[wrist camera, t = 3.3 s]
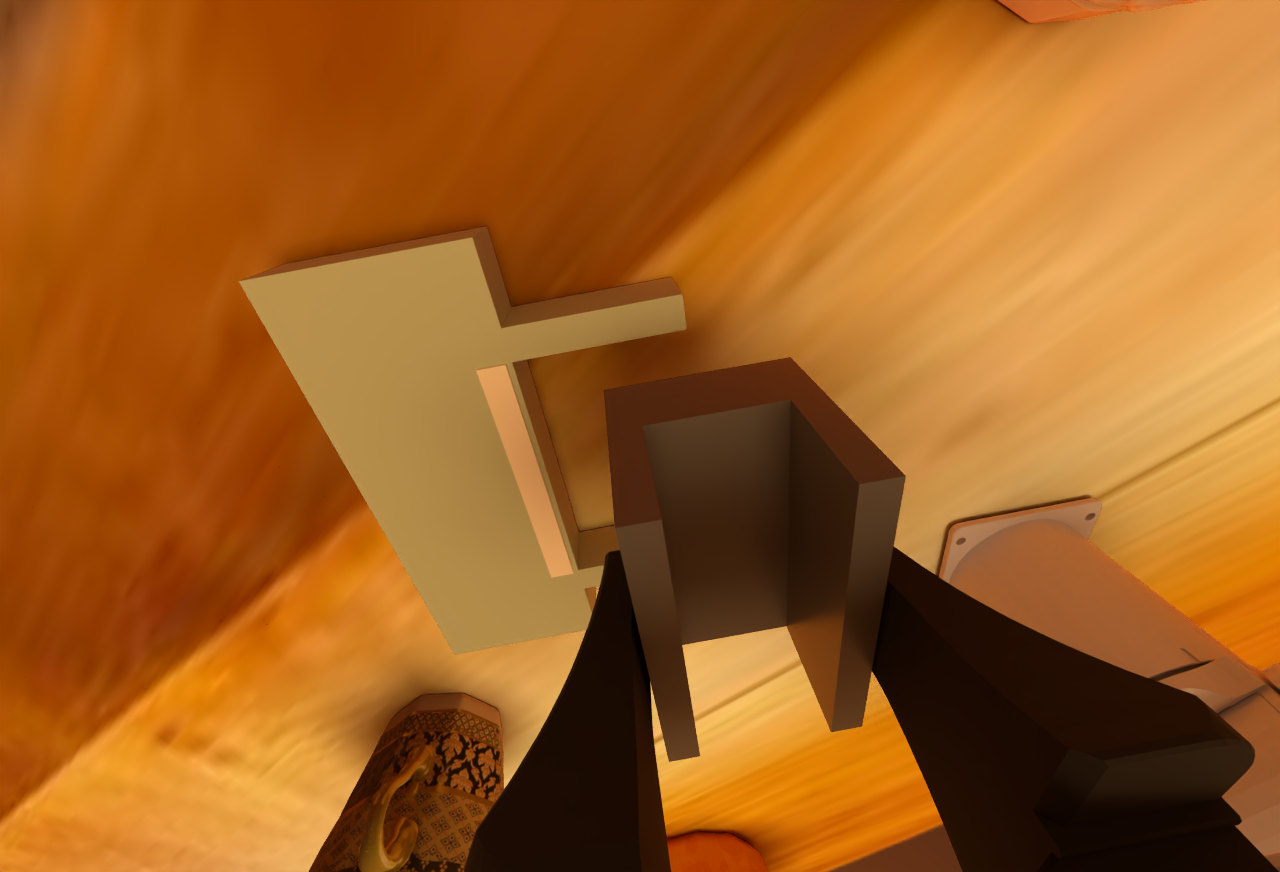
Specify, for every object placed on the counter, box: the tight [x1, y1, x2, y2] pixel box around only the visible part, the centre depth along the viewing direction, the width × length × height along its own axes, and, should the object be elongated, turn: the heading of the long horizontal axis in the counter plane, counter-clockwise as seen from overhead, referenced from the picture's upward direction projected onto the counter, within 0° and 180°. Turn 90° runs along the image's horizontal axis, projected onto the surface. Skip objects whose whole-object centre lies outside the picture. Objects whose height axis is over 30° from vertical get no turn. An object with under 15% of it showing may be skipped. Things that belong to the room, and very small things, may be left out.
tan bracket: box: [239, 226, 687, 655], centre depth 20 cm, size 18×13×3 cm
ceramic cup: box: [309, 693, 504, 872], centre depth 26 cm, size 13×10×10 cm
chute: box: [604, 357, 906, 762], centre depth 13 cm, size 8×5×5 cm, turn 8°
